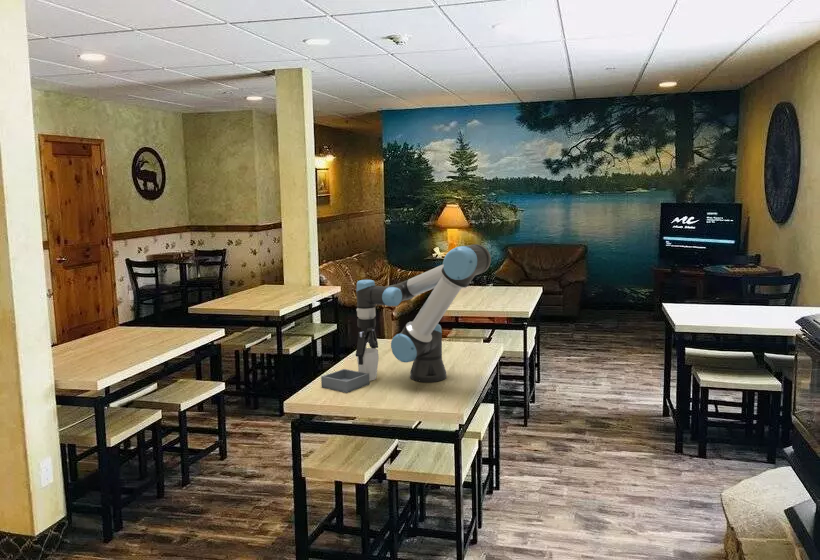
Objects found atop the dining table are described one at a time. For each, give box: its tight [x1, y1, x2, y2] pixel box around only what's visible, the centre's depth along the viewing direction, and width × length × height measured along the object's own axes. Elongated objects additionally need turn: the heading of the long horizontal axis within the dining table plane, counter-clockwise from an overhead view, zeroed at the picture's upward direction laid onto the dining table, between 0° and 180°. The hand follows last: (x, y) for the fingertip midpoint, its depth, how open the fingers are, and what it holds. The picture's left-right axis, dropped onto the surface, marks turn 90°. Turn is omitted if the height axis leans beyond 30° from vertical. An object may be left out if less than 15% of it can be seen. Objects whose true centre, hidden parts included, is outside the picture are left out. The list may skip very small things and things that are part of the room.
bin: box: [320, 368, 370, 394], centre depth 272 cm, size 14×14×4 cm
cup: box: [356, 347, 379, 382], centre depth 281 cm, size 9×9×12 cm
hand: (367, 367), depth 281 cm, fingers open, 13 cm apart
